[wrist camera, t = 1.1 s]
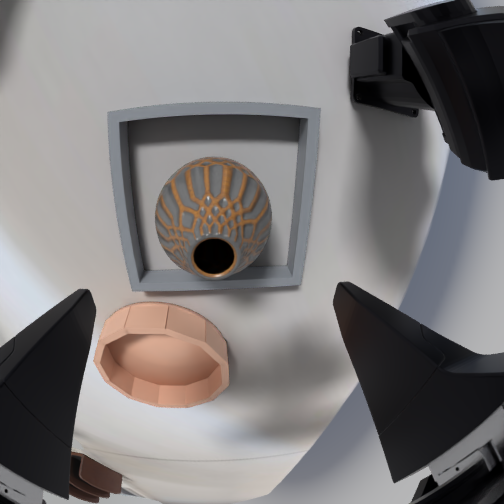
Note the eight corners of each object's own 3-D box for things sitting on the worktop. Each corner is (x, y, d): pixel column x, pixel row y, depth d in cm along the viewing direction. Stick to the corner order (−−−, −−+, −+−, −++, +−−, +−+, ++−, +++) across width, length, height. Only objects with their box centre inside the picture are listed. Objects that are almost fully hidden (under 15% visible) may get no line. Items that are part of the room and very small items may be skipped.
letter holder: (99, 471, 54) (96, 505, 42) (59, 448, 45) (53, 488, 32) (122, 474, 55) (121, 510, 42) (83, 453, 45) (78, 496, 32)
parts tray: (311, 108, 17) (320, 108, 15) (294, 272, 23) (300, 285, 22) (116, 111, 15) (107, 112, 14) (136, 278, 22) (132, 291, 20)
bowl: (224, 299, 24) (226, 326, 21) (228, 383, 30) (230, 406, 27) (86, 301, 22) (74, 325, 19) (123, 382, 29) (119, 404, 26)
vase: (161, 233, 20) (136, 308, 13) (173, 143, 17) (142, 168, 9) (248, 245, 22) (269, 323, 14) (270, 160, 19) (312, 197, 11)
